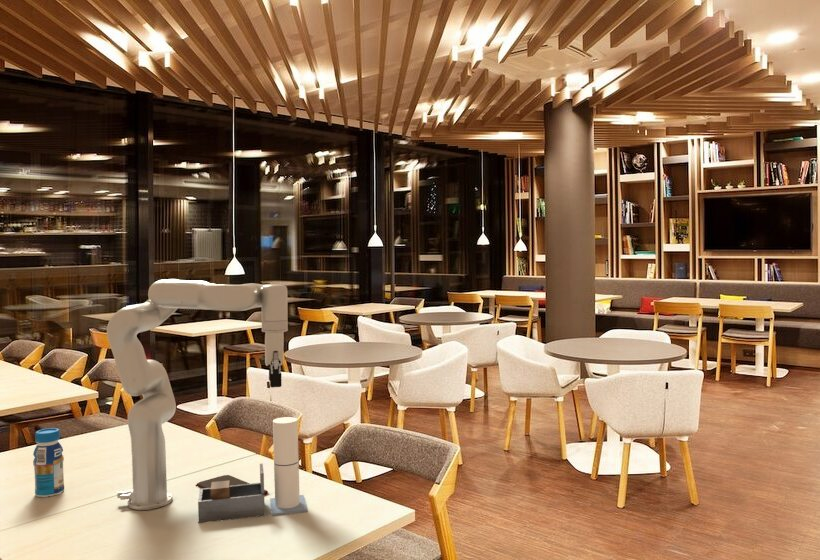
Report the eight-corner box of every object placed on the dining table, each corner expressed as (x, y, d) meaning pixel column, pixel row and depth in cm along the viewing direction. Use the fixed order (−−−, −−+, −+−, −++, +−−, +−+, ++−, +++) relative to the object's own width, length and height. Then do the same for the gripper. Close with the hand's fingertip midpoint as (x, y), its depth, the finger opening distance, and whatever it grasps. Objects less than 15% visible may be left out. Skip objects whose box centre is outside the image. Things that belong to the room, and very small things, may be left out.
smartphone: (228, 473, 221) (269, 490, 204) (228, 478, 221) (270, 495, 204) (194, 482, 212) (234, 501, 195) (194, 487, 212) (234, 506, 195)
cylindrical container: (270, 506, 192) (267, 422, 191) (283, 497, 198) (281, 416, 197) (291, 509, 189) (288, 424, 188) (304, 500, 196) (302, 418, 194)
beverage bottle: (30, 493, 207) (28, 431, 206) (59, 486, 213) (56, 425, 212) (39, 500, 201) (37, 435, 200) (69, 492, 207) (66, 430, 207)
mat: (272, 515, 186) (272, 513, 186) (270, 500, 198) (270, 498, 198) (307, 511, 189) (307, 509, 189) (303, 496, 201) (303, 494, 201)
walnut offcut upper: (210, 503, 185) (210, 489, 185) (212, 495, 191) (211, 482, 191) (229, 501, 186) (228, 487, 186) (229, 493, 192) (229, 480, 192)
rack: (198, 523, 182) (197, 480, 182) (200, 508, 192) (199, 468, 192) (264, 515, 187) (263, 474, 186) (263, 502, 197) (262, 462, 196)
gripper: (261, 323, 201) (261, 378, 201) (262, 330, 184) (262, 390, 185) (285, 322, 202) (286, 377, 203) (289, 329, 186) (289, 389, 186)
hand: (275, 383), depth 194 cm, fingers open, 9 cm apart
